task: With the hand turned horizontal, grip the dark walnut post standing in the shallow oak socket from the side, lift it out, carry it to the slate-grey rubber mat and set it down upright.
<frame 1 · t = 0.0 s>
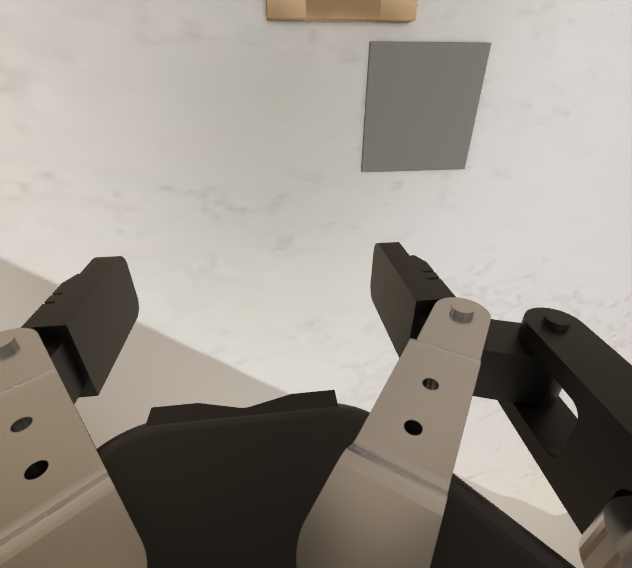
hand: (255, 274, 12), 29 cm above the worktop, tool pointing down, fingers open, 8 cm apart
grey mat: (420, 111, 38), on the worktop
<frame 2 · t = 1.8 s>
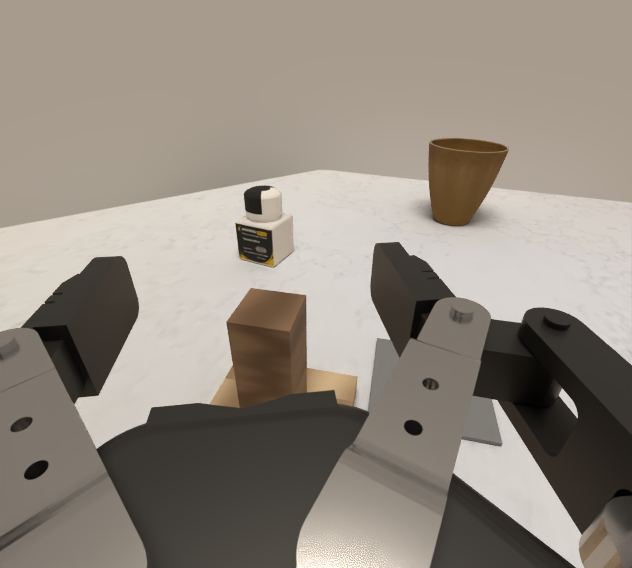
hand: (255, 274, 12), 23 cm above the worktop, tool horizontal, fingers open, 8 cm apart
grey mat: (429, 385, 38), on the worktop
plant pot: (451, 220, 80), on the worktop
medicine bottle: (267, 256, 64), on the worktop
oak socket: (277, 430, 33), on the worktop
walnut post: (273, 377, 30), in the oak socket
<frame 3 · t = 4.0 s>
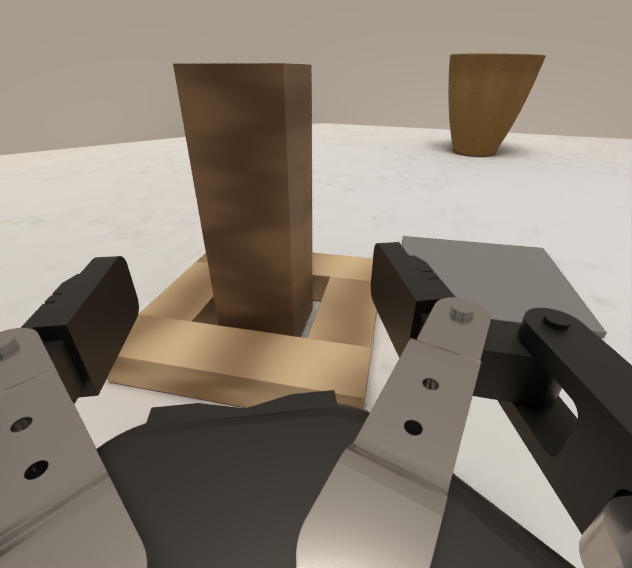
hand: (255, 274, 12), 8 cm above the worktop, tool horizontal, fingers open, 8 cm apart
grey mat: (480, 278, 28), on the worktop
plant pot: (474, 153, 69), on the worktop
oak socket: (269, 323, 23), on the worktop
walnut post: (261, 218, 19), in the oak socket
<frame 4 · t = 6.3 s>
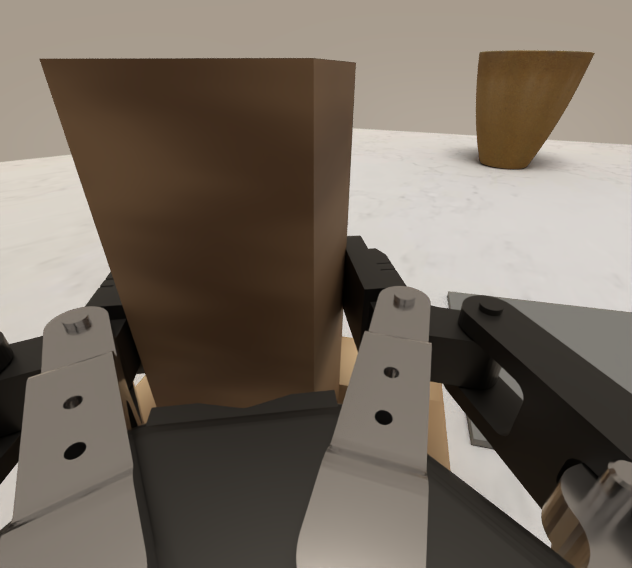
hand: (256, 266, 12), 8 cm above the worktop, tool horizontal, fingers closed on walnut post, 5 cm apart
grey mat: (573, 369, 19), on the worktop
plant pot: (504, 165, 61), on the worktop
oak socket: (272, 470, 14), on the worktop
walnut post: (258, 334, 11), in the oak socket, touching gripper
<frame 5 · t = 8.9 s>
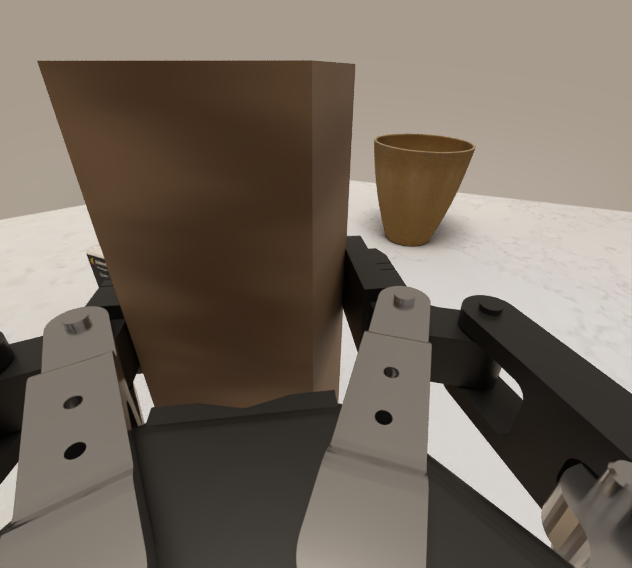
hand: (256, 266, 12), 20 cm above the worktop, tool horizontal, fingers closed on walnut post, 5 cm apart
plant pot: (408, 238, 63), on the worktop
medicine bottle: (145, 294, 47), on the worktop
walnut post: (257, 336, 11), point 19 cm above the worktop, touching gripper
when the fingers open (10 cm above the worktop, at t = 11.5 s): walnut post drops 1 cm, resting on grey mat.
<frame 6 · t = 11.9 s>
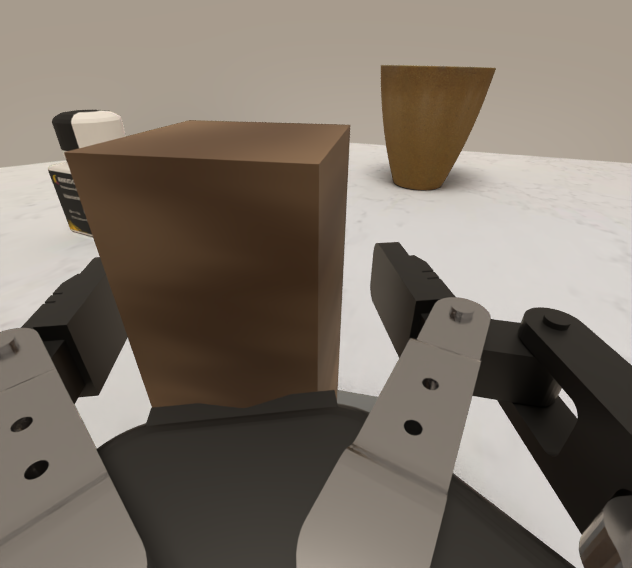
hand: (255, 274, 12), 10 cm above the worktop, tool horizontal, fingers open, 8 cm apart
grey mat: (274, 495, 15), on the worktop
plant pot: (418, 185, 57), on the worktop
medicine bottle: (120, 227, 41), on the worktop
walnut post: (260, 371, 11), on the grey mat
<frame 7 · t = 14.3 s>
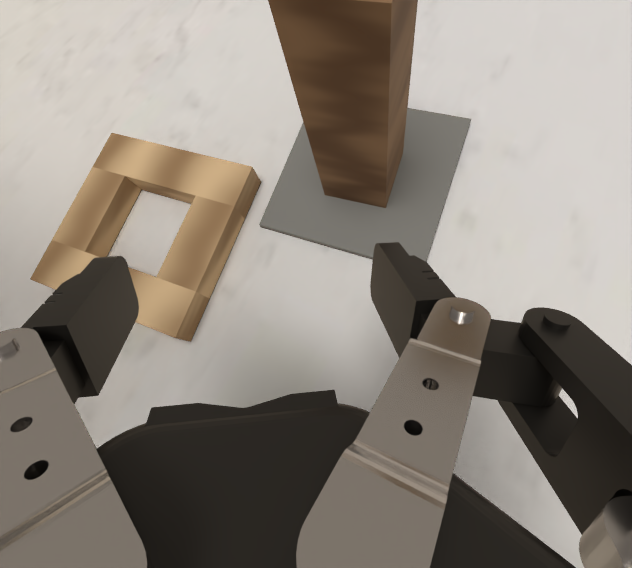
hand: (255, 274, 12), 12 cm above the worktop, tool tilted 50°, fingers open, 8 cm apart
grey mat: (364, 175, 26), on the worktop
oak socket: (156, 234, 28), on the worktop
walnut post: (357, 100, 19), on the grey mat
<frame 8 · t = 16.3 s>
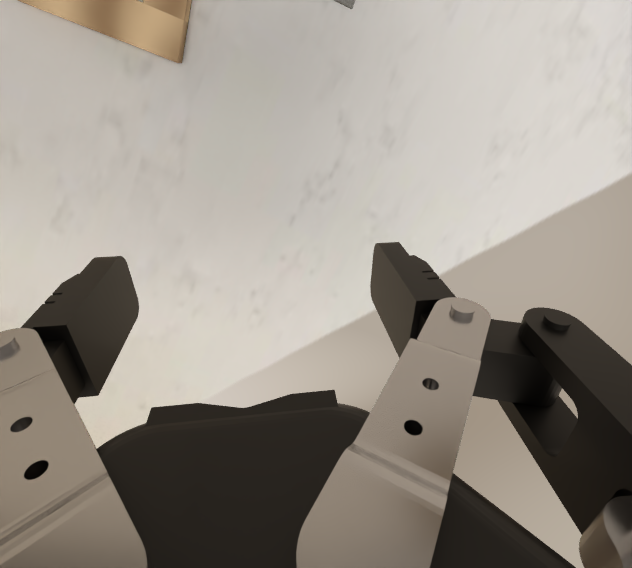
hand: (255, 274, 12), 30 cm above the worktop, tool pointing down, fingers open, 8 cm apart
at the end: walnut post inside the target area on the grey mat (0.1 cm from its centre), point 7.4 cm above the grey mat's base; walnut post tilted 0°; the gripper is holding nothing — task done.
